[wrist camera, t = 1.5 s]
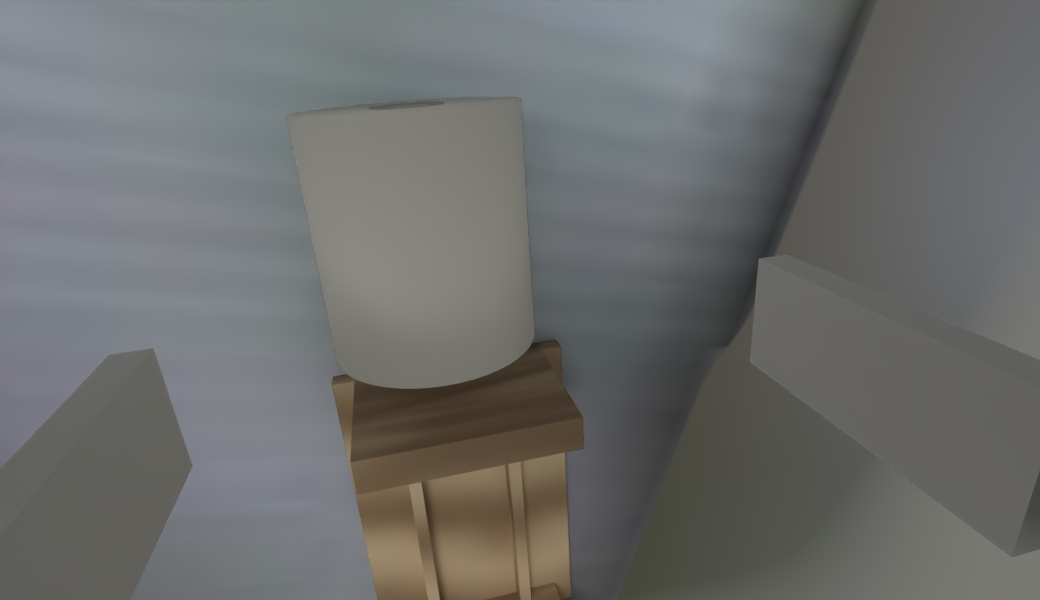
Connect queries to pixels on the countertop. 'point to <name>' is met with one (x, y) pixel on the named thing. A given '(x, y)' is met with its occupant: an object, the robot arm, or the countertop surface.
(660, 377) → the countertop surface
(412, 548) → the holder
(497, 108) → the roll
